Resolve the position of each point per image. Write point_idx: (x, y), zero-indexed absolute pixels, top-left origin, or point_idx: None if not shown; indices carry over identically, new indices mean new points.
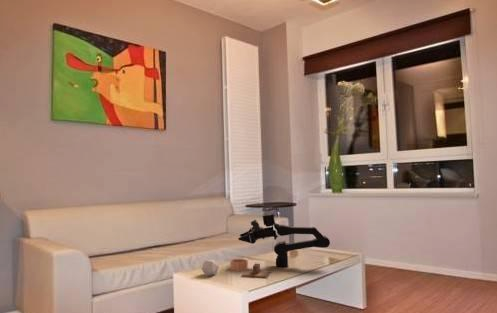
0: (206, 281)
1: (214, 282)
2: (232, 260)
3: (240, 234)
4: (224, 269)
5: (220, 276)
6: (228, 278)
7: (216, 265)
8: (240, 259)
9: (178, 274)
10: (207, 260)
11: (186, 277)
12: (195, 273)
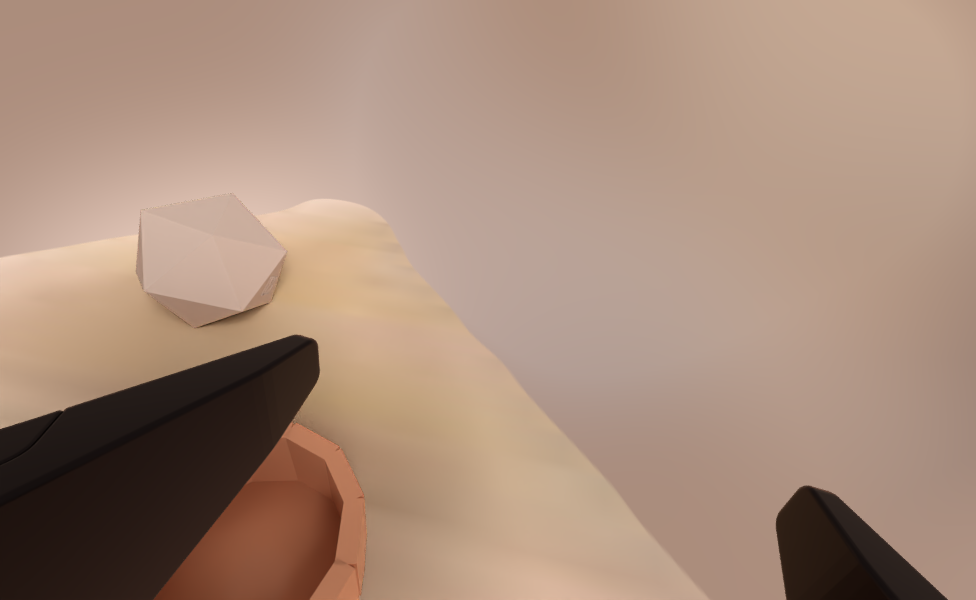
0: (87, 259)
1: (9, 286)
2: (318, 458)
3: (823, 499)
4: (349, 426)
5: (134, 350)
6: (6, 388)
7: (141, 265)
8: (318, 588)
9: (348, 204)
10: (217, 202)
11: (265, 214)
12: (328, 254)
